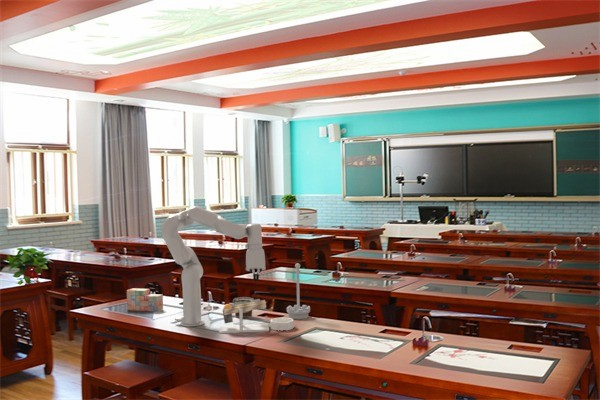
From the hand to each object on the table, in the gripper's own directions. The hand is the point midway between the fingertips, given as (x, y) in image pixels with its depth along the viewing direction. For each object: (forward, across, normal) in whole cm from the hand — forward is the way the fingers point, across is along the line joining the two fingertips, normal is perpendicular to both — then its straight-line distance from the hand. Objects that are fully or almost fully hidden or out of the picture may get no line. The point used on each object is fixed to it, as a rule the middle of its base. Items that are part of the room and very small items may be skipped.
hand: (256, 281), depth 313 cm
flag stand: (+23, +23, +12) cm, 35 cm away
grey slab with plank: (+17, -6, -6) cm, 19 cm away
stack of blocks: (+22, -66, +46) cm, 84 cm away
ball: (+11, -15, -12) cm, 22 cm away
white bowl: (+23, +12, -12) cm, 29 cm away
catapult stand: (+23, -7, -12) cm, 27 cm away
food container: (+23, -7, +20) cm, 31 cm away
